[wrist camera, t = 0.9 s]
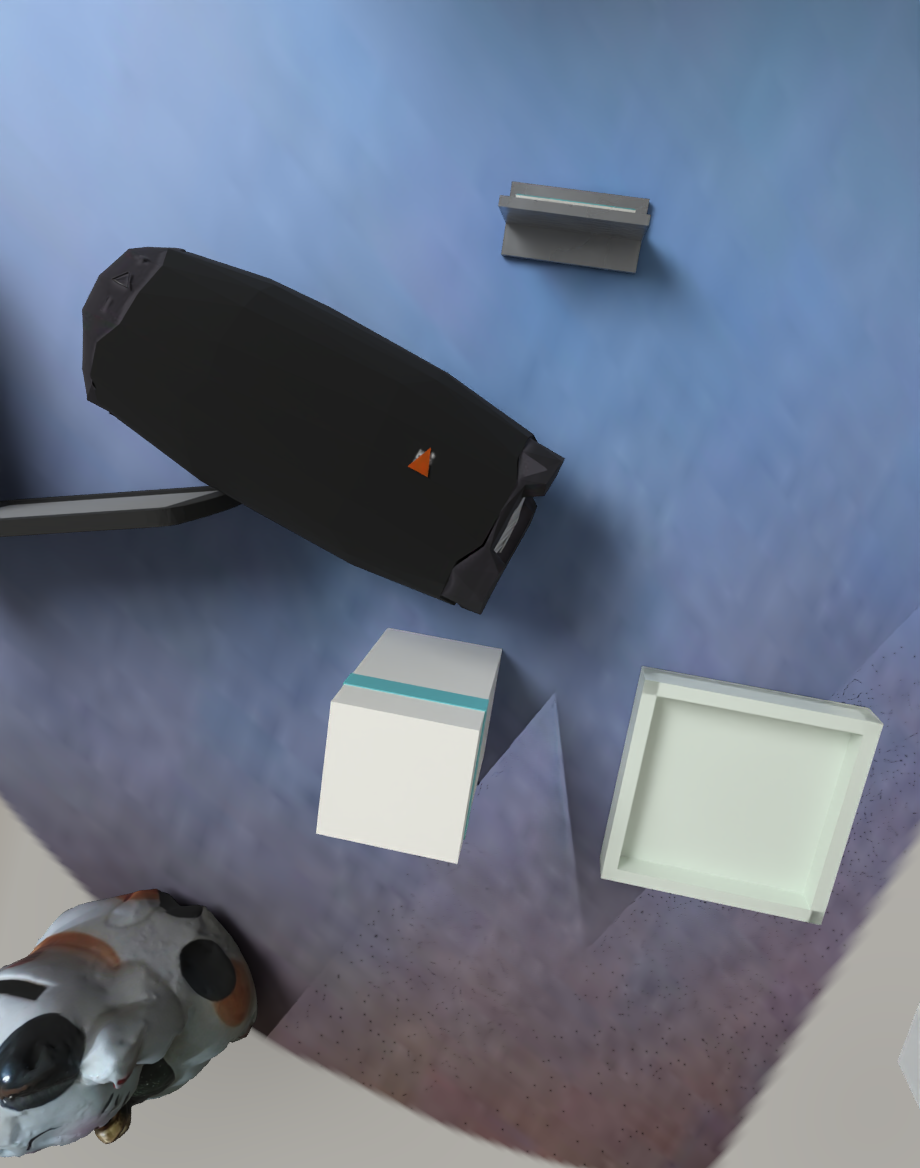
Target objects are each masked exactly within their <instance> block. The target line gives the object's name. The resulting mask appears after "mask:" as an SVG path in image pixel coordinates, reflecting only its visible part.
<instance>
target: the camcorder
mask: <svg viewBox="0 0 920 1168" xmlns="http://www.w3.org/2000/svg"><path fill="white" fill-rule="evenodd" d="M241 504H242V503H240V502H238V501H236V500H234V499H233V498H231V497H229V496H227V495H225V494H224V493H222V492H220V491H218V490H216V489H215V488H213V487H211V486H201V487H187V488H173V489H159V490H145V491H131V492H117V493H102V494H88V495H74V496H60V497H46V498H32V499H18V500H4V501H0V537H6V536H22V535H38V534H54V533H69V532H85V531H101V530H117V529H133V528H149V527H162V526H171V525H177V524H181V523H185V522H188V521H192V520H196V519H199V518H203V517H207V516H210V515H213V514H216V513H219V512H222V511H225V510H228V509H231V508H233V507H236V506H238V505H241Z"/></svg>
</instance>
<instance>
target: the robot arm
mask: <svg viewBox="0 0 920 1168" xmlns="http://www.w3.org/2000/svg"><path fill="white" fill-rule="evenodd" d="M898 1063H899V1066H900V1068H901V1070H902V1072H903V1074H904V1076H905V1079H906V1081H907V1083H908V1085H909V1087H910V1089H911V1091H912V1094H913V1096H914V1098H915V1100H916V1102H917V1104H918V1107H919V1109H920V1002H919V1005H918V1007H917V1010H916V1013H915V1015H914V1018H913V1021H912V1024H911V1026H910V1029H909V1032H908V1034H907V1037H906V1040H905V1043H904V1045H903V1048H902V1051H901V1053H900V1056H899V1059H898Z"/></svg>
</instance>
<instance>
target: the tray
mask: <svg viewBox="0 0 920 1168" xmlns="http://www.w3.org/2000/svg"><path fill="white" fill-rule="evenodd" d="M882 727H883V723H882V722H881V721H880V720H879V719H878V718H877V716H876V715H875V714H874V713H873V712H872V711H871V710H870V709H869V708H865V707H860V706H855V705H849V704H844V703H838V702H833V701H828V700H822V699H817V698H812V697H806V696H801V695H795V694H790V693H785V692H779V691H774V690H769V689H763V688H758V687H752V686H747V685H742V684H736V683H731V682H726V681H720V680H715V679H709V678H704V677H699V676H693V675H688V674H683V673H677V672H672V671H666V670H661V669H656V668H650V667H645V666H642V668H641V673H640V677H639V682H638V686H637V691H636V695H635V700H634V704H633V709H632V713H631V718H630V722H629V727H628V732H627V736H626V741H625V745H624V750H623V754H622V759H621V763H620V768H619V772H618V777H617V781H616V786H615V790H614V795H613V800H612V804H611V809H610V813H609V818H608V822H607V827H606V831H605V836H604V840H603V845H602V849H601V854H600V871H601V878H602V879H607V880H612V881H616V882H621V883H626V884H631V885H635V886H640V887H645V888H649V889H654V890H659V891H663V892H668V893H673V894H678V895H682V896H687V897H692V898H696V899H701V900H706V901H710V902H715V903H720V904H725V905H729V906H734V907H739V908H743V909H748V910H753V911H758V912H762V913H767V914H772V915H776V916H781V917H786V918H790V919H795V920H800V921H805V922H809V923H814V924H819V925H821V923H822V920H823V917H824V914H825V910H826V907H827V904H828V901H829V898H830V894H831V891H832V888H833V885H834V882H835V878H836V875H837V872H838V869H839V865H840V862H841V859H842V856H843V853H844V849H845V846H846V843H847V840H848V837H849V833H850V830H851V827H852V824H853V820H854V817H855V814H856V811H857V808H858V804H859V801H860V798H861V795H862V792H863V788H864V785H865V782H866V779H867V775H868V772H869V769H870V766H871V763H872V759H873V756H874V753H875V750H876V747H877V743H878V740H879V737H880V734H881V730H882Z"/></svg>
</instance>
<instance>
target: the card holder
mask: <svg viewBox="0 0 920 1168" xmlns="http://www.w3.org/2000/svg"><path fill="white" fill-rule="evenodd" d="M648 205H649V199H644V198H636V197H628V196H621V195H613V194H605V193H598V192H590V191H582V190H574V189H567V188H559V187H551V186H543V185H536V184H528V183H520V182H512V186H511V193H510V196H503V195H500V198H499V205H498V206H499V208H500V211H501V213H502V215H503V218H504V220H505V222H506V226H505V233H504V239H503V246H502V253H501V255H502V256H509V257H516V258H524V259H531V260H538V261H545V262H552V263H560V264H567V265H574V266H581V267H588V268H596V269H603V270H610V271H617V272H625V273H632V274H635V272H636V267H637V262H638V257H639V251H640V246H641V241H642V239H643V237H644V235H645V233H646V230H647V228H648V226H649V221H650V216H651V215H648V214H647V210H648Z"/></svg>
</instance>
